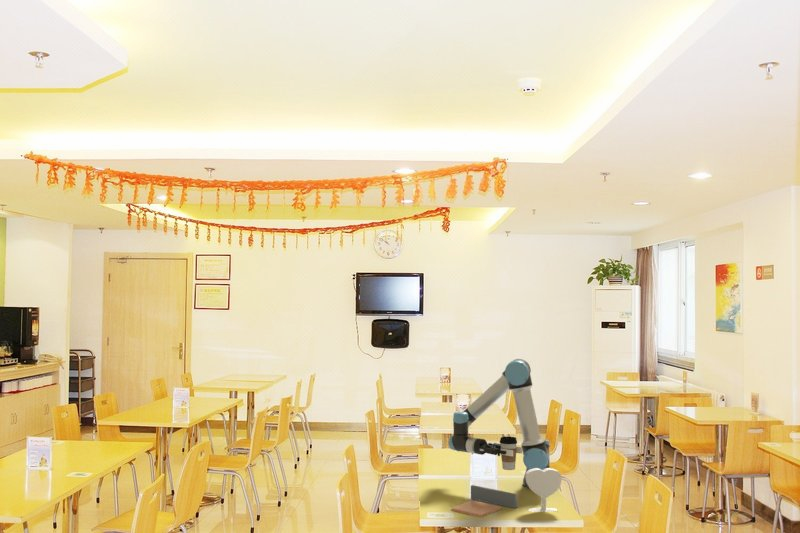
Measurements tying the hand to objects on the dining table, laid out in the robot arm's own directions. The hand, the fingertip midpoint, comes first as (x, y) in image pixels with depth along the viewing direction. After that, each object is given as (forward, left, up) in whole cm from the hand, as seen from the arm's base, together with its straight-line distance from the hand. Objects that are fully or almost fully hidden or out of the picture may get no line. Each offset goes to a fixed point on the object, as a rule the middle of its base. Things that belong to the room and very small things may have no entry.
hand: (517, 451), depth 322 cm
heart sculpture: (-3, +20, -22) cm, 30 cm away
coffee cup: (+3, -4, -9) cm, 10 cm away
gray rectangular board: (+14, +4, -22) cm, 26 cm away
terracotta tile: (+26, +12, -22) cm, 36 cm away
